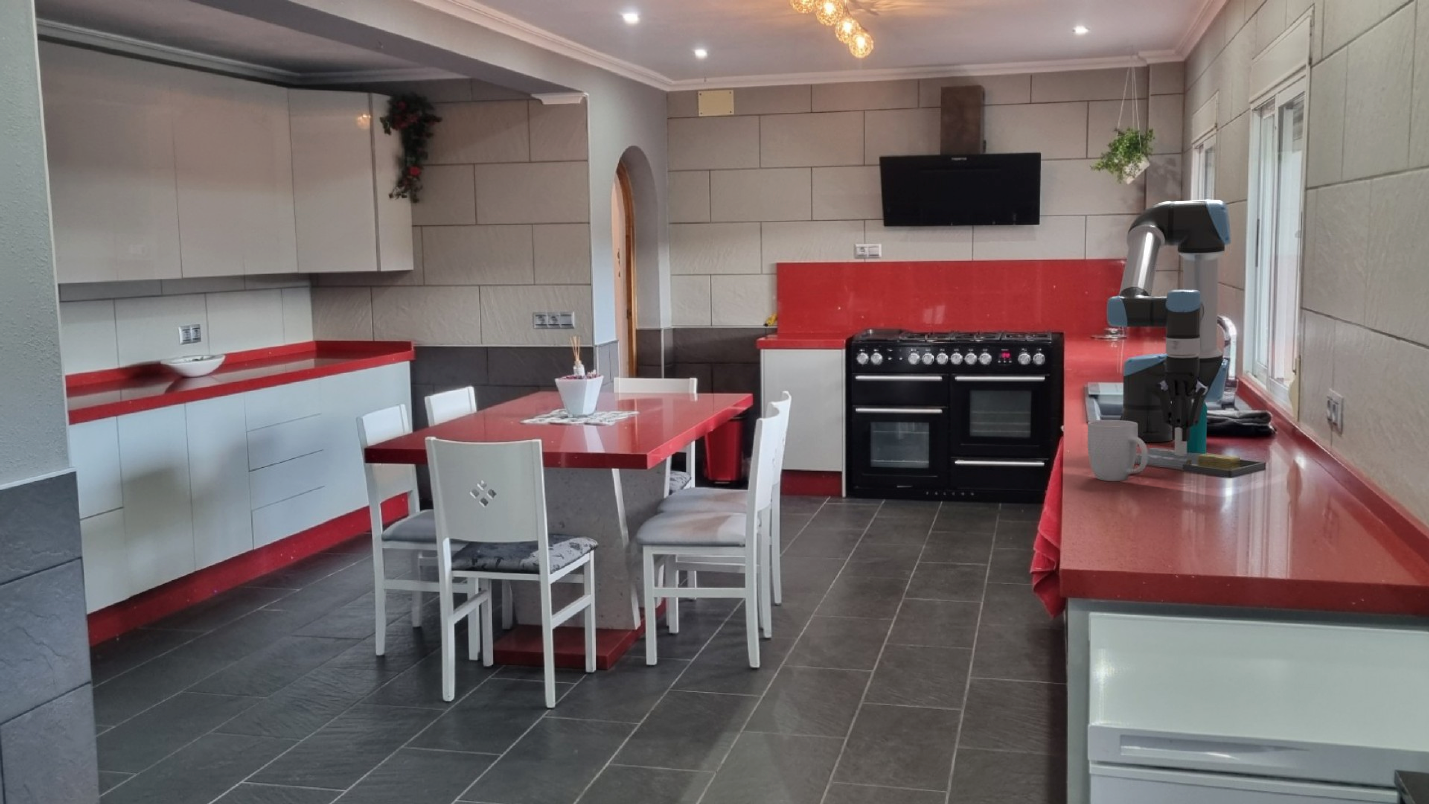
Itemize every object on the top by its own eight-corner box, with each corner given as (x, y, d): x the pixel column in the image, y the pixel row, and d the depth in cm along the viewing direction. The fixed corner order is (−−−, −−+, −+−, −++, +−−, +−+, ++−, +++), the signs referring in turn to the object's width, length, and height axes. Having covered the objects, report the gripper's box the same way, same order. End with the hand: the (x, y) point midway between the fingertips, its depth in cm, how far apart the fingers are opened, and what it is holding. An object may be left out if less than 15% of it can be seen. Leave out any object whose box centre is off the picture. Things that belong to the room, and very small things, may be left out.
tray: (1217, 468, 292) (1217, 456, 292) (1265, 475, 283) (1265, 462, 283) (1182, 477, 283) (1182, 464, 283) (1230, 484, 274) (1230, 470, 274)
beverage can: (1201, 458, 307) (1203, 398, 305) (1208, 462, 301) (1210, 401, 299) (1178, 458, 307) (1179, 399, 306) (1184, 462, 302) (1185, 402, 300)
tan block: (1206, 470, 289) (1207, 453, 288) (1222, 472, 285) (1223, 455, 285) (1197, 472, 286) (1197, 455, 286) (1213, 474, 283) (1213, 457, 283)
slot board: (1153, 461, 304) (1153, 447, 304) (1213, 469, 292) (1213, 455, 291) (1124, 467, 297) (1125, 453, 296) (1185, 476, 284) (1185, 461, 284)
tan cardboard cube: (1223, 472, 285) (1223, 455, 285) (1239, 474, 282) (1239, 457, 282) (1213, 474, 283) (1214, 457, 283) (1230, 476, 280) (1230, 459, 279)
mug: (1161, 481, 279) (1162, 424, 277) (1130, 487, 273) (1131, 429, 271) (1107, 472, 291) (1108, 418, 290) (1076, 478, 285) (1077, 422, 284)
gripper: (1148, 355, 291) (1147, 453, 295) (1199, 358, 281) (1197, 460, 284) (1166, 352, 296) (1164, 449, 299) (1216, 355, 286) (1214, 455, 289)
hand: (1180, 454), depth 292 cm, fingers closed
